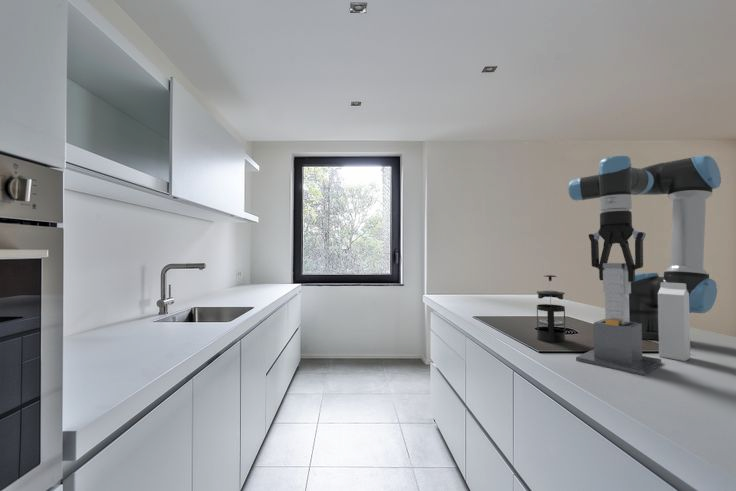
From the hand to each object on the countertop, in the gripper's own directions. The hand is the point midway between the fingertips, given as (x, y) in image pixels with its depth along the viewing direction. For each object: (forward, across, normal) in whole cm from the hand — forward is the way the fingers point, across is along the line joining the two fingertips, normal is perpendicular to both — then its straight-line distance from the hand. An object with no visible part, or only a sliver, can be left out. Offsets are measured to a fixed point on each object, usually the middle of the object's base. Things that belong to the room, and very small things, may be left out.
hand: (616, 292), depth 101 cm
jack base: (+20, 0, 0) cm, 20 cm away
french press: (+20, -24, +12) cm, 33 cm away
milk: (+20, +9, +18) cm, 28 cm away
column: (+12, 0, 0) cm, 12 cm away
